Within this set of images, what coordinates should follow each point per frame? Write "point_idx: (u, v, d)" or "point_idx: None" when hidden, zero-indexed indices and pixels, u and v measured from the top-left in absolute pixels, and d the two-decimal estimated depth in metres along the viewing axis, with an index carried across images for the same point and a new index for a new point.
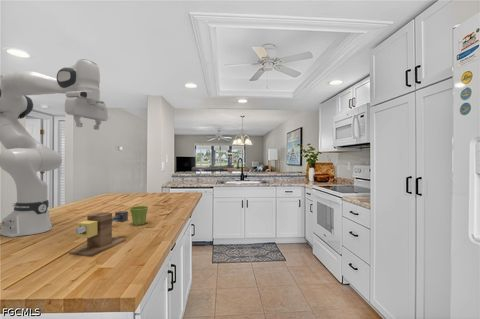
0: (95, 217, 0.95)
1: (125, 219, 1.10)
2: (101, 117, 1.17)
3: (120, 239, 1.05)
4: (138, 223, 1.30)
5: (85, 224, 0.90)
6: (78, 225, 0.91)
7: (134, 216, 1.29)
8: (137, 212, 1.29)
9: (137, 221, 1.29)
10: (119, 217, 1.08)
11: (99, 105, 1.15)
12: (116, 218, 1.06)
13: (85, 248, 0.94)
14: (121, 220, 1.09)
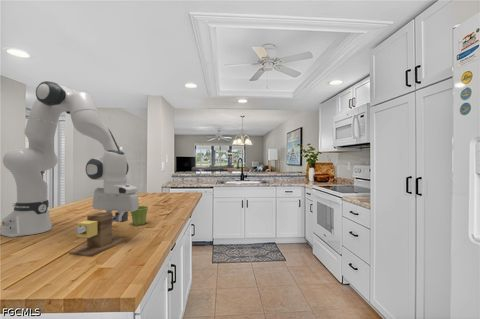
0: (95, 217, 0.95)
1: (125, 219, 1.10)
2: None
3: (120, 239, 1.05)
4: (138, 223, 1.30)
5: (85, 224, 0.90)
6: (78, 225, 0.91)
7: (134, 216, 1.29)
8: (137, 212, 1.29)
9: (137, 221, 1.30)
10: None
11: None
12: None
13: (85, 248, 0.94)
14: (121, 220, 1.09)
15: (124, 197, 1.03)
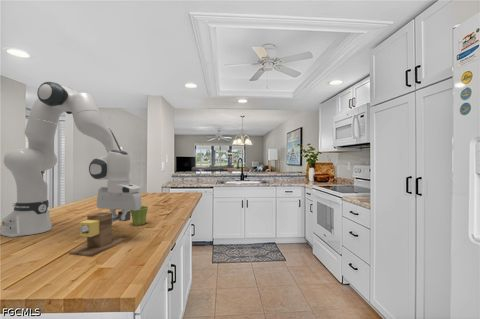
0: (95, 217, 0.95)
1: (128, 218, 1.12)
2: None
3: (120, 239, 1.05)
4: (138, 223, 1.30)
5: (87, 223, 0.91)
6: (80, 224, 0.92)
7: (134, 216, 1.29)
8: (137, 212, 1.29)
9: (137, 221, 1.29)
10: None
11: None
12: (119, 217, 1.08)
13: (85, 248, 0.94)
14: None
15: (127, 196, 1.05)
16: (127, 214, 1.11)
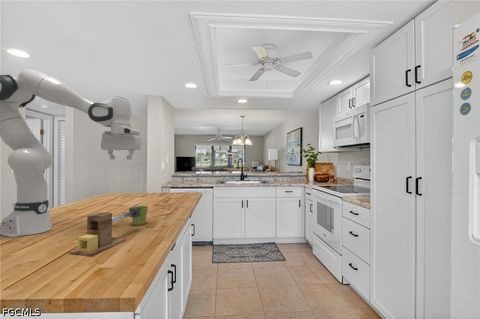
0: (95, 217, 0.95)
1: (138, 215, 1.19)
2: None
3: (120, 239, 1.05)
4: (138, 223, 1.30)
5: (86, 238, 0.91)
6: (79, 239, 0.91)
7: None
8: None
9: (137, 221, 1.29)
10: (133, 212, 1.17)
11: None
12: (130, 213, 1.15)
13: None
14: (135, 215, 1.18)
15: (129, 137, 1.18)
16: (137, 211, 1.19)
